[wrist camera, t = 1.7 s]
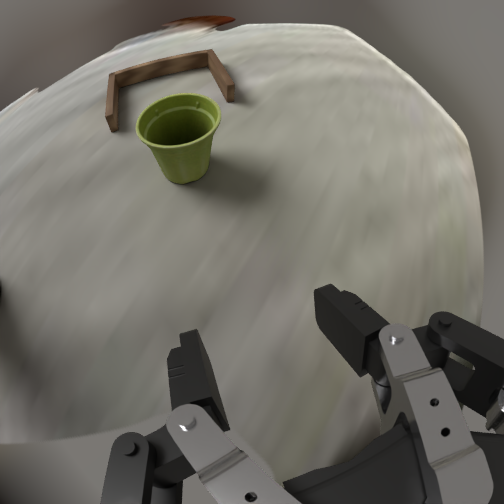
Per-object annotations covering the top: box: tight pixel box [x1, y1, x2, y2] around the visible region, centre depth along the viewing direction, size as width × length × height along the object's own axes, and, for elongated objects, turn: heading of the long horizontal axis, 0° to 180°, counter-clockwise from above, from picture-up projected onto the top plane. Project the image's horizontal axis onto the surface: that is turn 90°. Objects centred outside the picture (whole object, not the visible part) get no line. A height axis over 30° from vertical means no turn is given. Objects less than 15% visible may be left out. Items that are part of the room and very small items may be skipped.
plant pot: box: [136, 93, 221, 184], centre depth 30 cm, size 9×9×9 cm
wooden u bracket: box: [105, 49, 235, 132], centre depth 39 cm, size 20×15×4 cm
